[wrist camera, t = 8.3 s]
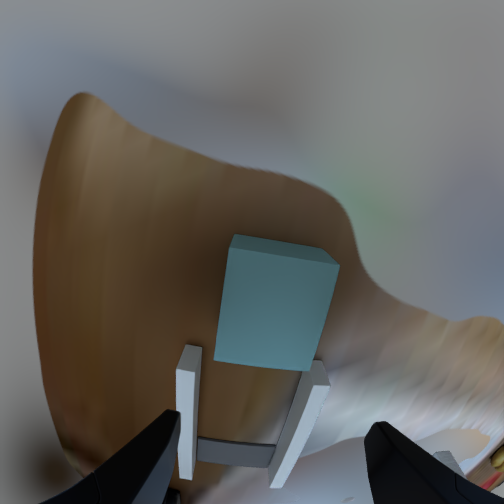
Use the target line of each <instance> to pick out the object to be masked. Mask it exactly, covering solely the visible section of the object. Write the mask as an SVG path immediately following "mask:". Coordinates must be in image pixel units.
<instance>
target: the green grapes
mask: <svg viewBox="0 0 504 504" xmlns="http://www.w3.org/2000/svg"><path fill="white" fill-rule="evenodd" d="M491 465H492V466H493V467H494V468H495V469H496V470H497V471H499V472H504V446H502V447H501V448H500V449H499V450H498V451H497V452H496V453H495V454H494V455H493V457H492V458H491Z"/></svg>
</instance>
